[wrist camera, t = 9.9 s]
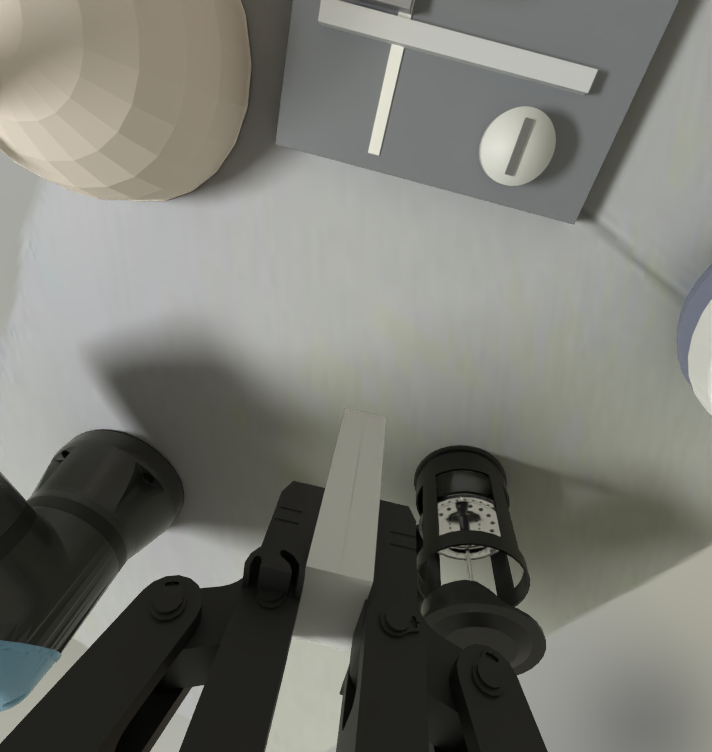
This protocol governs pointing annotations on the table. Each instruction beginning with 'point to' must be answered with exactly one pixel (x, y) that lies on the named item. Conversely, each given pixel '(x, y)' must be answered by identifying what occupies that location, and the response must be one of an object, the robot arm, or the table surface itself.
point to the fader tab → (392, 4)
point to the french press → (469, 542)
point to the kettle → (123, 92)
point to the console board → (470, 91)
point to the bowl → (697, 339)
